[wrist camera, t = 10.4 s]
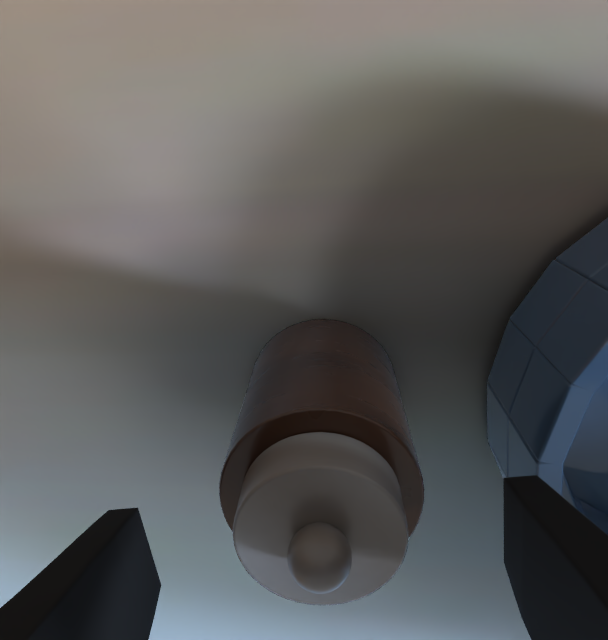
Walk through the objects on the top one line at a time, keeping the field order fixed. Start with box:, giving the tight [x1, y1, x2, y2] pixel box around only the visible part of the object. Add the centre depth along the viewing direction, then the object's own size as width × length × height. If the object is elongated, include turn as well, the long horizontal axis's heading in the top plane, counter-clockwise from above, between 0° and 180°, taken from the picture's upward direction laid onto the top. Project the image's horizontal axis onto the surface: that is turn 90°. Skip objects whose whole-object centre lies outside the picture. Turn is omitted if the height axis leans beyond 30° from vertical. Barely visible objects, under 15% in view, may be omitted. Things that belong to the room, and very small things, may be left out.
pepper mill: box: [219, 319, 424, 605], centre depth 12 cm, size 4×4×7 cm
